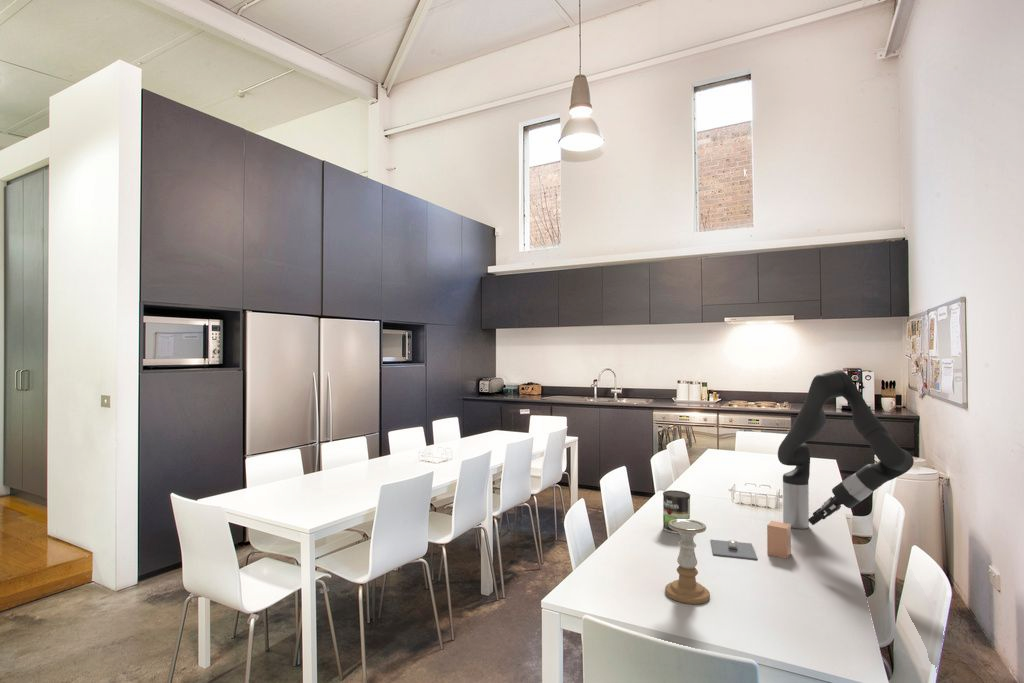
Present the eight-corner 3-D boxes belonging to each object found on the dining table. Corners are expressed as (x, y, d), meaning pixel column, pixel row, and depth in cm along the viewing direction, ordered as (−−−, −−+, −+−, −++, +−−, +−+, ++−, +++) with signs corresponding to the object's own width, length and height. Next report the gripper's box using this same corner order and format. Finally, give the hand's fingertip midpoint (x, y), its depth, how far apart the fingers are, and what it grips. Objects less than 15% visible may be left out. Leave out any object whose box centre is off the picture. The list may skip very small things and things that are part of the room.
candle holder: (719, 601, 151) (719, 528, 151) (681, 607, 147) (680, 532, 148) (692, 583, 163) (692, 516, 163) (656, 588, 159) (656, 519, 159)
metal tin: (727, 546, 192) (727, 539, 192) (737, 547, 191) (736, 540, 191) (728, 549, 189) (728, 542, 189) (737, 550, 189) (737, 543, 189)
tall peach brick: (771, 549, 191) (771, 520, 192) (790, 553, 187) (790, 524, 188) (767, 554, 186) (767, 525, 187) (787, 558, 183) (786, 528, 183)
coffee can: (680, 535, 205) (680, 498, 205) (657, 529, 213) (657, 493, 213) (695, 530, 212) (695, 494, 212) (672, 523, 219) (672, 488, 220)
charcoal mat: (710, 540, 200) (710, 539, 200) (751, 544, 195) (751, 543, 196) (713, 555, 185) (713, 553, 185) (757, 560, 181) (757, 558, 181)
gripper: (845, 477, 181) (807, 505, 188) (839, 485, 170) (799, 514, 177) (864, 495, 178) (825, 523, 185) (860, 505, 167) (818, 534, 174)
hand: (812, 519), depth 181 cm, fingers open, 8 cm apart
